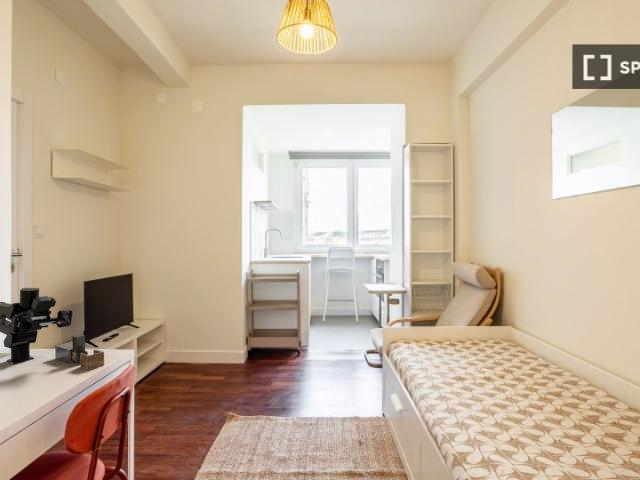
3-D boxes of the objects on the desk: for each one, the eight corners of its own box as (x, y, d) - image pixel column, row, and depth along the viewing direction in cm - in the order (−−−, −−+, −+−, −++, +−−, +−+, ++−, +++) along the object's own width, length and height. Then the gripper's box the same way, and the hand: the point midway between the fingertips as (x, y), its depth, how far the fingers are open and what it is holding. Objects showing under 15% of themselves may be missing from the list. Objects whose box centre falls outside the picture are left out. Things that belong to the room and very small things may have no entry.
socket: (80, 366, 134) (80, 353, 134) (95, 362, 139) (95, 349, 139) (89, 369, 131) (89, 356, 131) (104, 365, 136) (104, 351, 136)
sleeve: (55, 358, 143) (55, 345, 143) (69, 354, 147) (69, 342, 147) (69, 362, 138) (69, 349, 138) (83, 358, 143) (82, 346, 143)
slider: (58, 355, 144) (57, 332, 144) (66, 352, 147) (66, 330, 146) (78, 361, 137) (78, 338, 136) (87, 359, 139) (87, 336, 139)
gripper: (5, 297, 128) (28, 305, 121) (62, 293, 145) (85, 301, 138) (1, 328, 128) (23, 339, 121) (59, 321, 145) (81, 330, 138)
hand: (55, 325), depth 129 cm, fingers open, 9 cm apart
